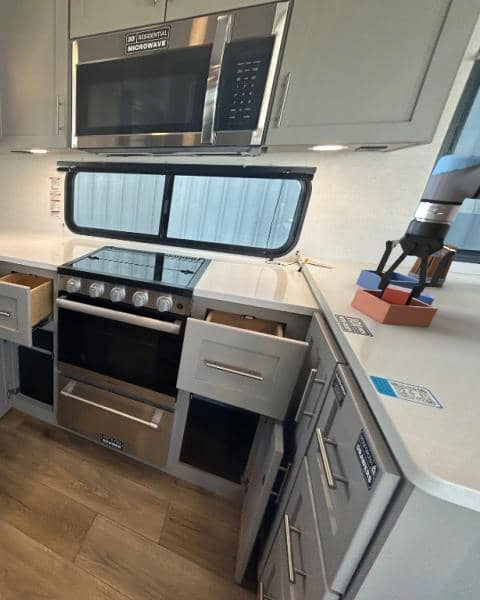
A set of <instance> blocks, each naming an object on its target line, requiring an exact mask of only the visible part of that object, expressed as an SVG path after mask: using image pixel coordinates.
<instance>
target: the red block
mask: <svg viewBox="0 0 480 600" xmlns="http://www.w3.org/2000/svg"><path fill="white" fill-rule="evenodd" d="M411 291H412V289H408V288H404V287H400V286H395V285H391V284H389V285H388V286H387V288H386V290H385V292H384V294H383V296H382V298H381V300H383V301H385V302H387V303H389V304H392V305H405V304H406V302H407V300H408V297H409V295H410V293H411Z"/></svg>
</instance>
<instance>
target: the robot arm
mask: <svg viewBox="0 0 480 600" xmlns="http://www.w3.org/2000/svg"><path fill="white" fill-rule="evenodd" d="M466 199H467V200H468V199H469V200H480V155H477V154H474V155H473V154H447V155H444V156H442V157H440V158H439V159H438V161H437V163H436V165H435V167H434V169H433V170H432V173H431V175H430V176H429V179H428V181H427V184H426V185H425V189H424V191H423V193H422V195H421V198H420V200H419V202H418V204H417V206H416V208H415V210H414V213H413V215H412V217H413V219H412V220H410V222H409V224H408V226H407V228H406V231H405V233H404V235H403V236H402V237H401V238H399V239H388V240H386V241H385V249H384V252H383V254H382V257H381V259H380V261H379V263H378V265H377V268H376V272H375V274H376V275H378V276H380V277H381V281H380V283H379V285H378V289H380V290H382V291H381V293H380V295H379V299H381V298H382V296H383V294H384V292H385V290H386V288H387V286H388V285H389V283H390V281H391V279H388V277H389V276H390V275H391V274H392V273H393V272H395V270H396V269H397V268H398V267H399V266H400V265H401V264H402V262H403V261H404V260H405V259H406V258H407V257H408V256H409V257H416V258H418V257H419V258H421V267H420V276H419V285H414V287H413V289H412V291H411V293H410V295H409V297H408V300H407V302H406V304H405V306H409V304H410V302H411V300H412V298H419V297H420V295H421V293H422V291H423V289H424V288H425V289H426V288H435V286H436V284H437V282H438V280H439V278H440V276H441V274H442V272H443V270H444V268H445V266H446V264H447V262H448V260H449V259H450V258H451V257H452V256H453V255H455V253H456V254H457V251H455V250H451V249H449V248H446V247H444V245H445V240H446V238H447V235H448V234H449V231H450V230H451V227H452V225H451V224H450V223H452V222H454V221H455V219H456V218H457V216H458V214H459V212H460V210H461V208H462V205H463V203H464V202H465V200H466ZM398 244H399V246H400V248H401V250H402V253H401V254H400V255H399V256H398V257H397V259H396V260H395V261H394V262H393V263H392V264H391V266H389V268H388V269H387V270H386V271H387V272H386V273H385V272H383V271H384V269H385V267H386V264H387V263H388V260H389V258H390V256H391V254H392V252H393V249H395V248H396V247H397V245H398ZM439 250H441V251H442V253H441V256H443V257H442V259H441V261H440V263H439V265H438V267H437V269H436V271H435V273H434V275H433V277H432V279H431V281H429V282H426V278H427V269H428V261H429V256H430V255H432V254H434V253H436V252H438V251H439ZM455 256H456V255H455ZM425 289H424V290H425ZM423 292H424V291H423Z"/></svg>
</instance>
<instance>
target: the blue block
mask: <svg viewBox="0 0 480 600" xmlns="http://www.w3.org/2000/svg"><path fill="white" fill-rule="evenodd" d="M435 298H436V294H432V293H428V292H424V291H423V292H422V293H421V295H420V297H419V298H415V299H417V300H419V301H422V302H424V303H426V304H428V305H431V306H432V304H433V302H434V301H435Z"/></svg>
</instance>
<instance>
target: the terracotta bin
mask: <svg viewBox="0 0 480 600" xmlns="http://www.w3.org/2000/svg"><path fill="white" fill-rule="evenodd" d="M380 293H381V290H368V289H366V288H357V289H356V292H355V294H354V296H353V298H352V301H351V304H350V306H351V307H353V308H354V309H356V310H358V311H359V312H361V313H363V314H364V315H366V316H368V317H370V318H371V319H373V320H375V321H377V322H378V323H380V324H383V325H384V324H385V325H393V326H394V325H395V326H406V327H407V326H408V327H421V328H429V326H430V325H431V323H432V321H433V319H434V317H435V315H436V313H437V312H438V310H439V308H438V307H436V306H433V305H432V304H431V305H428V304H426V303H424V302H422V301H419V300H417V299H415V298H412V300H411V302H410V304H409V306H405V305H392V304H389V303H387V302H385V301H383V300H381V299H379V295H380Z"/></svg>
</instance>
